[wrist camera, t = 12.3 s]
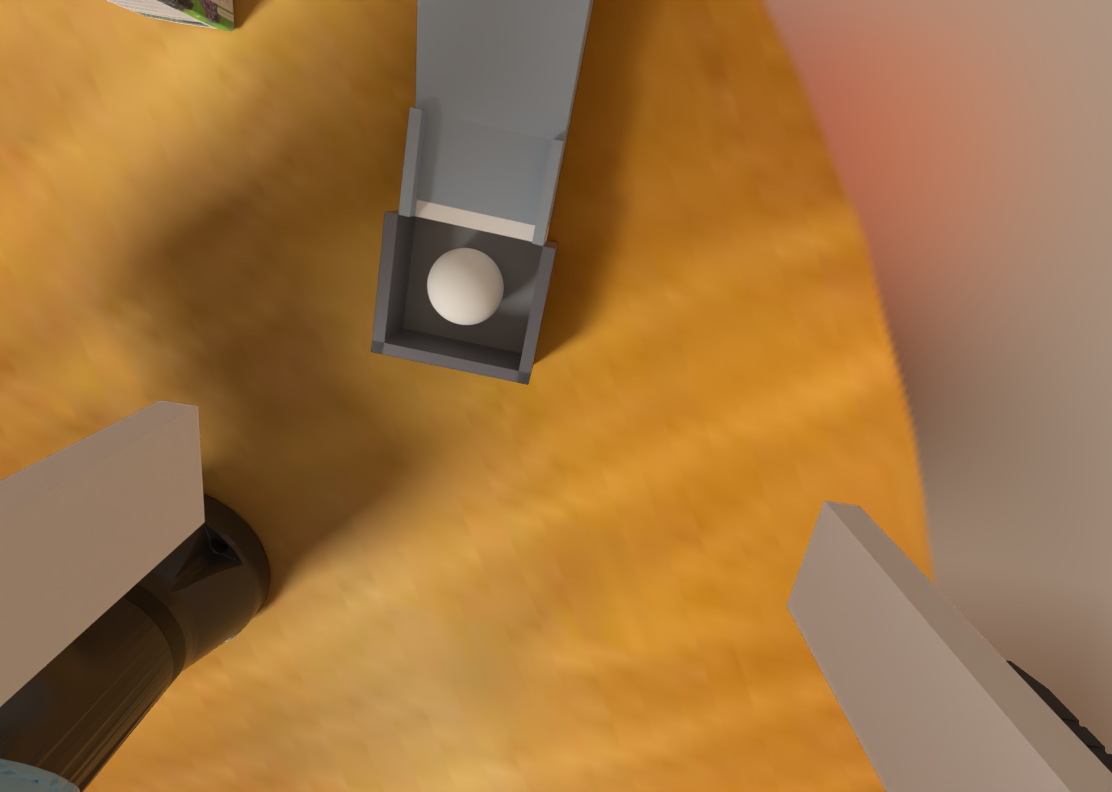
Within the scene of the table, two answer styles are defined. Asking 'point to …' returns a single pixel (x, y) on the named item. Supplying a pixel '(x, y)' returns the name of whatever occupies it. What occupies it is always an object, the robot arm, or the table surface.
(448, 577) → the table surface
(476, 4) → the launch ramp
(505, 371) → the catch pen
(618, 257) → the table surface
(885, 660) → the robot arm
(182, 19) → the syrup box
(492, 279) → the pale rubber ball
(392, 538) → the table surface
